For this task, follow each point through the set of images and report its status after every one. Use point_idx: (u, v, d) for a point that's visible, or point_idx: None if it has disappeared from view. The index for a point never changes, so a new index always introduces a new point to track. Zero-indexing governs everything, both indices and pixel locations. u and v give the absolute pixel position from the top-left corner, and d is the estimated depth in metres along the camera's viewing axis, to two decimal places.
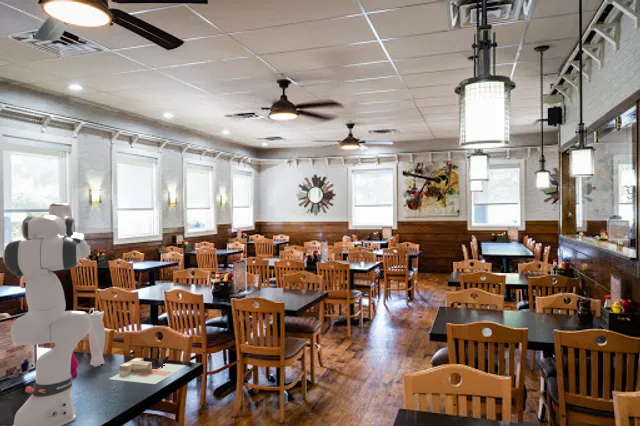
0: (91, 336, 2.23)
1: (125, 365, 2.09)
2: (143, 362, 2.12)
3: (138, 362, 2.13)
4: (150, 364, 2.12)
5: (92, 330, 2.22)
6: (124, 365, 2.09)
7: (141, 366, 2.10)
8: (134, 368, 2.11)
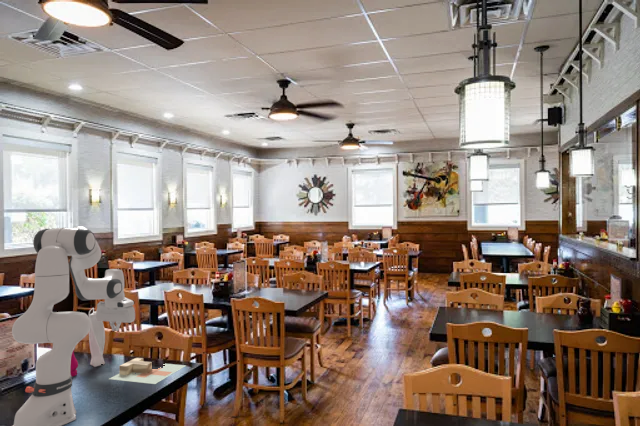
0: (91, 336, 2.23)
1: (125, 365, 2.09)
2: (143, 362, 2.12)
3: (138, 362, 2.13)
4: (150, 364, 2.12)
5: (92, 330, 2.22)
6: (124, 365, 2.09)
7: (141, 366, 2.10)
8: (134, 368, 2.11)
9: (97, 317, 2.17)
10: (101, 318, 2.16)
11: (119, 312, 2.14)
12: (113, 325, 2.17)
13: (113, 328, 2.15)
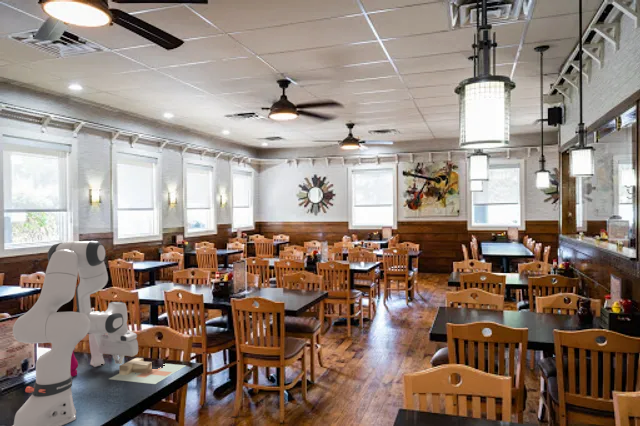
0: (91, 336, 2.23)
1: (125, 365, 2.09)
2: (143, 362, 2.12)
3: (138, 362, 2.13)
4: (150, 364, 2.12)
5: None
6: (124, 365, 2.09)
7: (141, 366, 2.10)
8: (134, 368, 2.11)
9: (100, 350, 2.17)
10: (104, 351, 2.16)
11: (122, 345, 2.13)
12: (116, 358, 2.16)
13: (116, 361, 2.15)
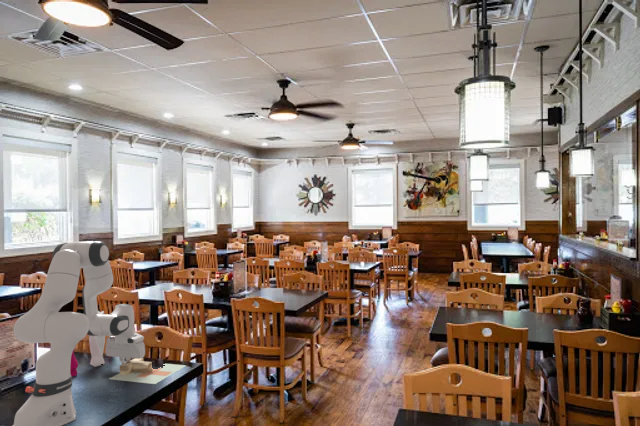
0: (91, 336, 2.23)
1: (125, 365, 2.09)
2: (143, 362, 2.12)
3: (138, 362, 2.13)
4: (150, 364, 2.12)
5: None
6: (124, 365, 2.09)
7: (141, 366, 2.10)
8: (134, 368, 2.11)
9: (107, 352, 2.15)
10: (111, 354, 2.15)
11: (129, 348, 2.12)
12: (123, 360, 2.15)
13: None
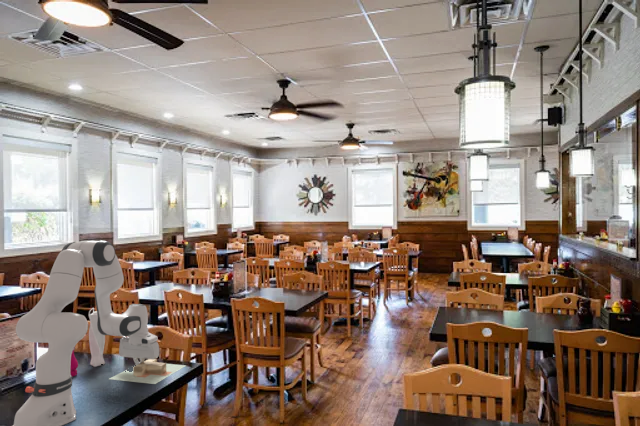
0: (91, 336, 2.23)
1: (139, 366, 2.08)
2: (157, 363, 2.10)
3: (152, 363, 2.11)
4: (164, 365, 2.10)
5: (92, 330, 2.22)
6: (138, 366, 2.07)
7: (155, 367, 2.08)
8: (148, 369, 2.09)
9: (120, 353, 2.13)
10: (124, 354, 2.13)
11: (143, 348, 2.10)
12: (137, 361, 2.13)
13: (137, 364, 2.12)
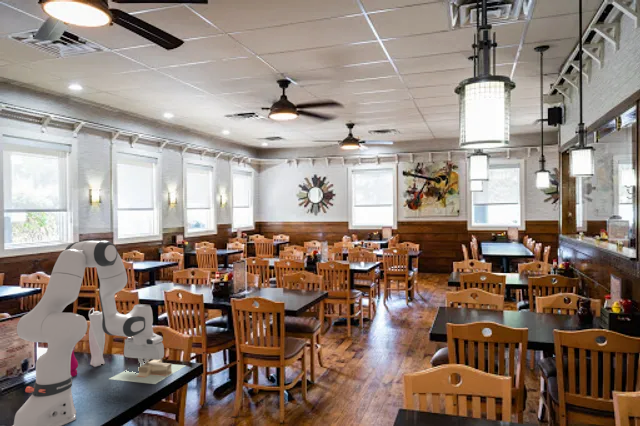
0: (91, 336, 2.23)
1: (144, 366, 2.07)
2: (162, 364, 2.10)
3: (157, 363, 2.10)
4: (169, 365, 2.09)
5: (92, 330, 2.22)
6: (143, 367, 2.06)
7: (160, 368, 2.07)
8: (153, 370, 2.08)
9: (125, 353, 2.13)
10: (129, 355, 2.12)
11: (148, 349, 2.09)
12: (142, 361, 2.12)
13: None
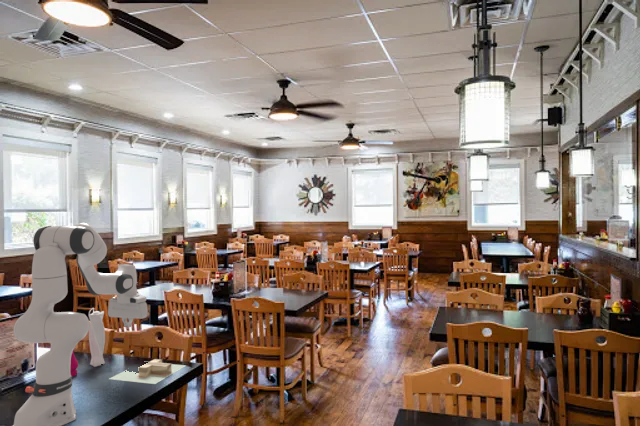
0: (91, 336, 2.23)
1: (144, 366, 2.07)
2: (162, 364, 2.10)
3: (157, 363, 2.10)
4: (169, 365, 2.09)
5: (92, 330, 2.22)
6: (143, 367, 2.06)
7: (160, 368, 2.07)
8: (153, 370, 2.08)
9: (109, 313, 2.14)
10: (113, 314, 2.13)
11: (131, 308, 2.11)
12: (125, 321, 2.14)
13: (125, 324, 2.13)
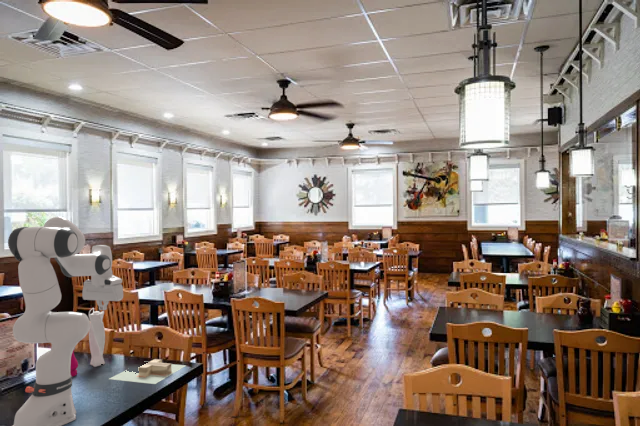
0: (91, 336, 2.23)
1: (144, 366, 2.07)
2: (162, 364, 2.10)
3: (157, 363, 2.10)
4: (169, 365, 2.09)
5: (92, 330, 2.22)
6: (143, 367, 2.06)
7: (160, 368, 2.07)
8: (153, 370, 2.08)
9: (83, 296, 2.07)
10: (88, 297, 2.06)
11: (106, 290, 2.03)
12: (100, 304, 2.06)
13: (100, 307, 2.05)
